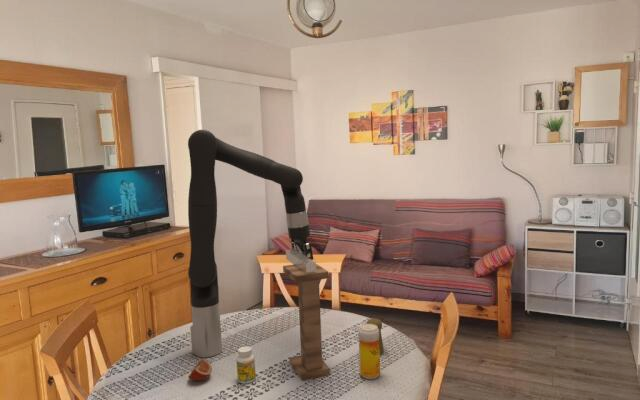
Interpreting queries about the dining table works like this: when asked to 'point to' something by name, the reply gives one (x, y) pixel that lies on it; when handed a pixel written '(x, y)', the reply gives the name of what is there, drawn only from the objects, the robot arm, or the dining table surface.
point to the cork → (379, 325)
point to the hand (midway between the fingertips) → (304, 268)
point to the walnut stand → (309, 323)
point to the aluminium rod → (301, 261)
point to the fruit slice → (201, 370)
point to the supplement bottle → (245, 365)
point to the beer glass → (369, 351)
